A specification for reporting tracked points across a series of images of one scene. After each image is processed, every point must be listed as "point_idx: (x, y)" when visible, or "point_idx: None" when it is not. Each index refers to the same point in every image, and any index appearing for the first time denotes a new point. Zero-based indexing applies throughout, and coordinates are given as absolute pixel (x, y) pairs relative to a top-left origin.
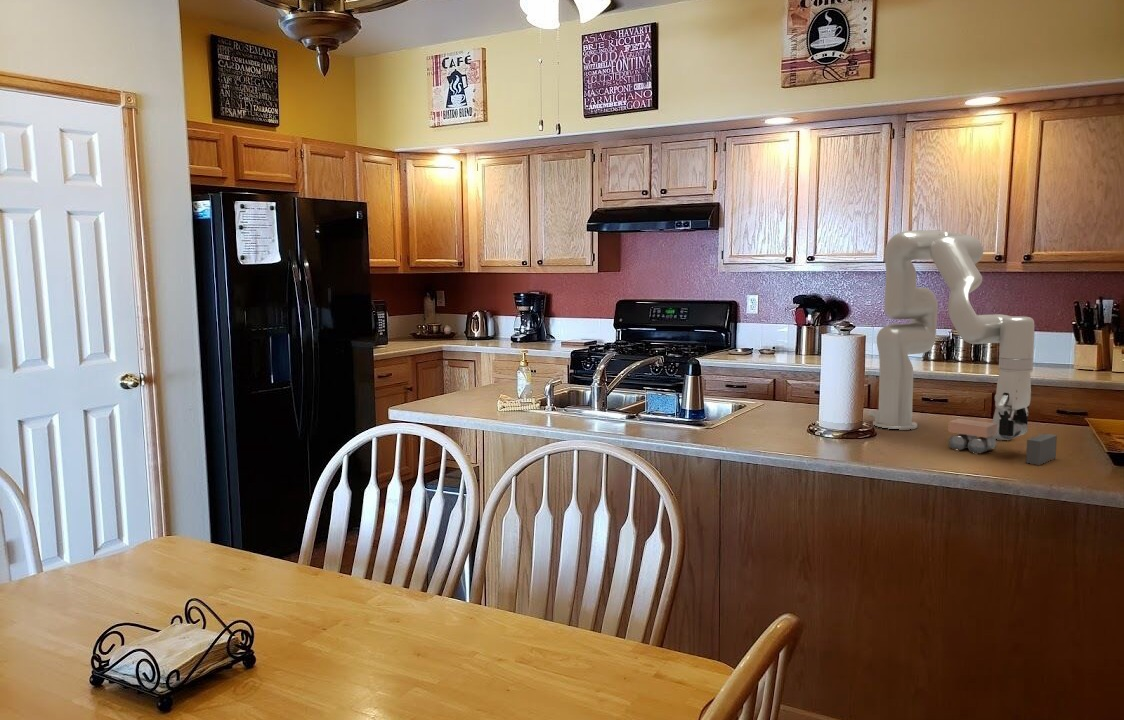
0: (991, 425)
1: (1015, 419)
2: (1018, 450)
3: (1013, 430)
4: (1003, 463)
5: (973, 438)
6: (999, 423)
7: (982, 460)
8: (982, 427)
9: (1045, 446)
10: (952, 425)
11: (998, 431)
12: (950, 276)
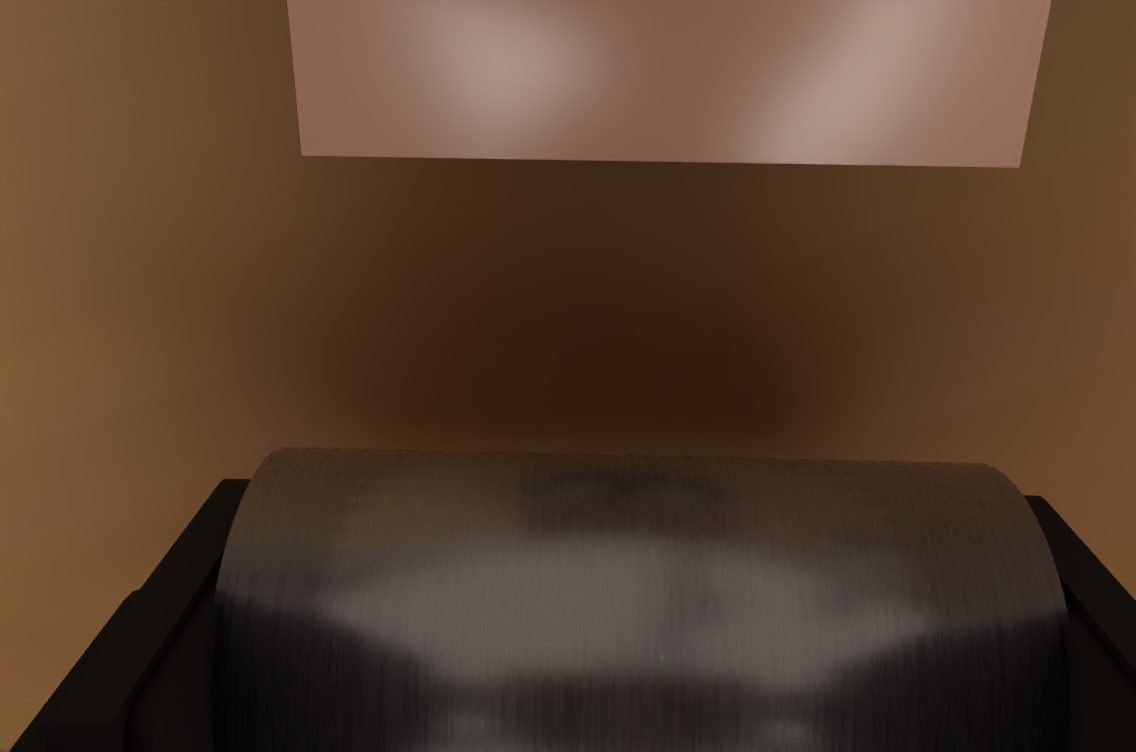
0: (634, 147)
1: (1083, 703)
2: (1069, 312)
3: None
4: (125, 459)
5: None
6: (112, 629)
7: (37, 201)
8: (293, 12)
9: None
10: None
11: (270, 459)
12: None
